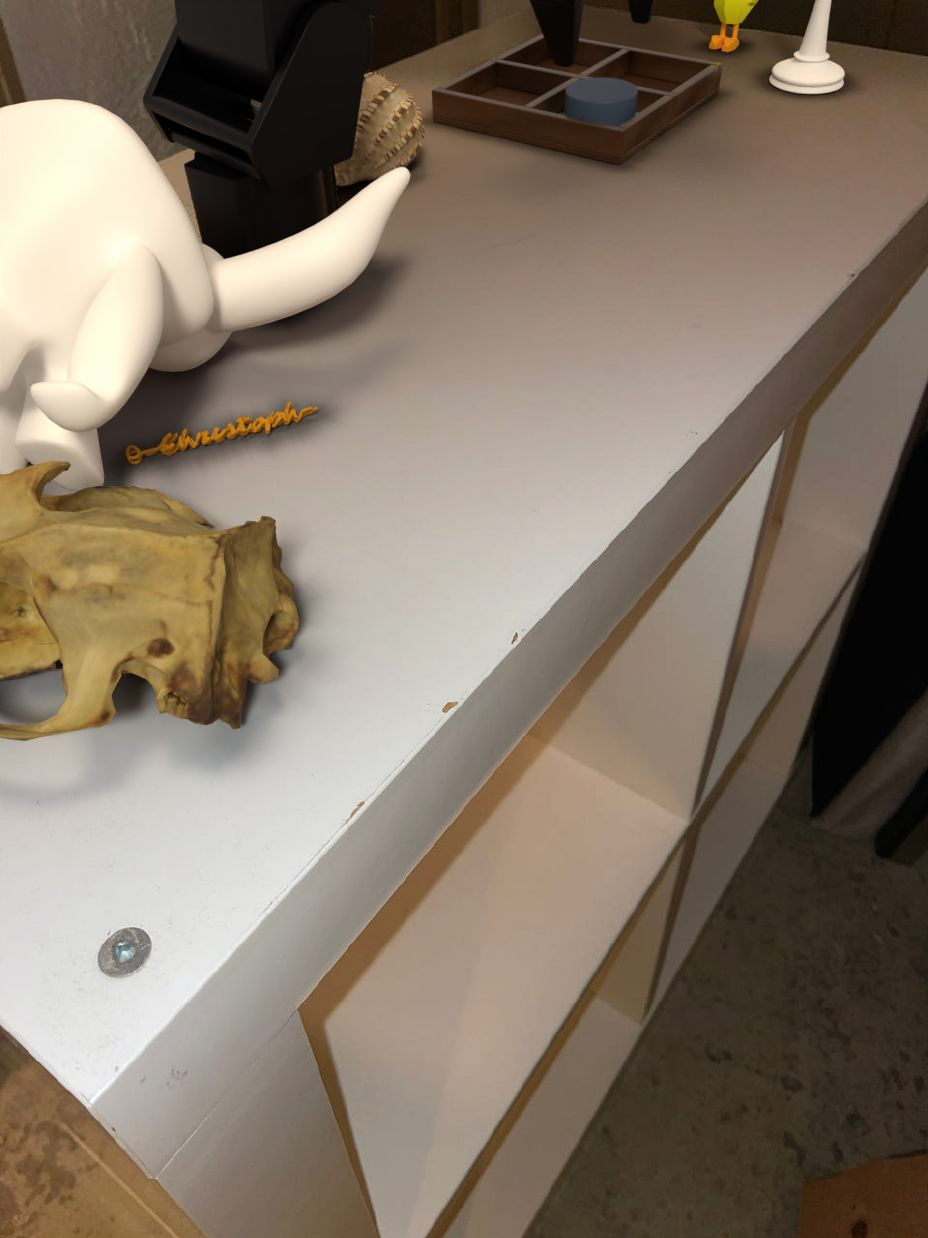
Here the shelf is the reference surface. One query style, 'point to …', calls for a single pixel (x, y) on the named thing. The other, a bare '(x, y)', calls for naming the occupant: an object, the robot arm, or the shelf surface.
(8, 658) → the animal skull
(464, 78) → the grid
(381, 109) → the seashell
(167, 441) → the keychain
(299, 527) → the shelf surface
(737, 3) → the toy figure
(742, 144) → the shelf surface
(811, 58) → the chess piece
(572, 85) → the short blue cylinder
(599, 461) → the shelf surface
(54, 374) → the toy animal
